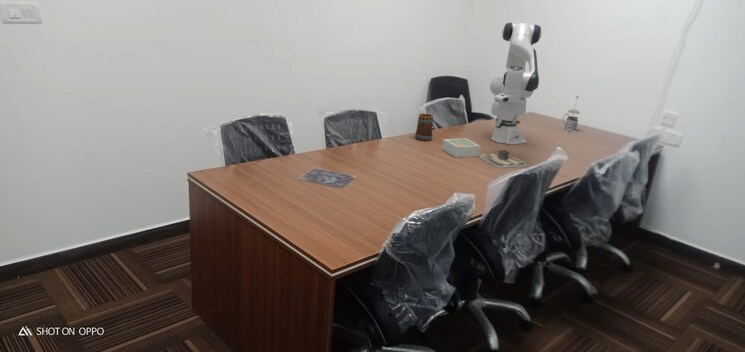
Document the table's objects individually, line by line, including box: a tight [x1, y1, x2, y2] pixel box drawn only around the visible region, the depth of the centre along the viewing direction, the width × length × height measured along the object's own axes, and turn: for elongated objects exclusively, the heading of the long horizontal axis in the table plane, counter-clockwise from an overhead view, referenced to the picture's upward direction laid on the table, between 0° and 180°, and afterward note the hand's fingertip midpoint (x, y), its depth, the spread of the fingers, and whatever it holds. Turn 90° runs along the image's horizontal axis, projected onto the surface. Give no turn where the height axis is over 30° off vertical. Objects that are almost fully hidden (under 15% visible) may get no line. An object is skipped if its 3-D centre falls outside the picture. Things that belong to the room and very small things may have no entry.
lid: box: [480, 149, 526, 166], centre depth 274 cm, size 17×17×5 cm
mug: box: [414, 112, 434, 142], centre depth 306 cm, size 16×11×15 cm
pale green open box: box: [441, 137, 481, 158], centre depth 283 cm, size 15×15×6 cm
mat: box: [477, 155, 528, 169], centre depth 275 cm, size 19×19×1 cm
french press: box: [562, 95, 581, 133], centre depth 354 cm, size 10×12×25 cm
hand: (506, 122), depth 269 cm, fingers open, 8 cm apart
